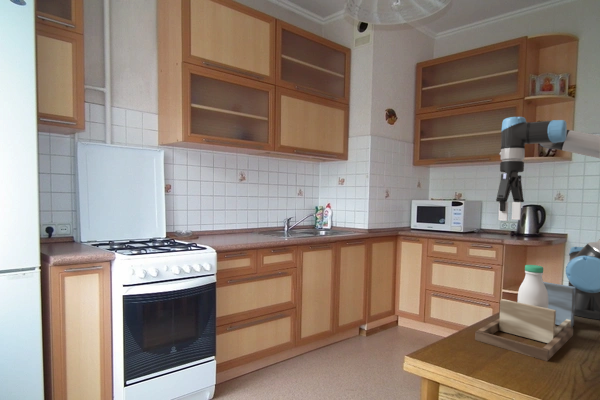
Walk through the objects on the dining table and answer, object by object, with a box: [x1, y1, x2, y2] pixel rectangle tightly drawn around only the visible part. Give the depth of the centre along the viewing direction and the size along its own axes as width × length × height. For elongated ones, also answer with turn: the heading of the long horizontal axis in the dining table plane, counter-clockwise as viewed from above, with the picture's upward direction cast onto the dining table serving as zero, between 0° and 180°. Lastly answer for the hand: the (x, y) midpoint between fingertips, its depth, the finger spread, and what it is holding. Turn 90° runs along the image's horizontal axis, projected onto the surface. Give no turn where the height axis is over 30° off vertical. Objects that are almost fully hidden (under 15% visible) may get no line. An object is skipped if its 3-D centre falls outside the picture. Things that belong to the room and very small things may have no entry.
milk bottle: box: [516, 264, 548, 308], centre depth 111 cm, size 8×8×20 cm
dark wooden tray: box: [474, 317, 574, 362], centre depth 108 cm, size 27×17×2 cm, turn 133°
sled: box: [498, 279, 575, 344], centre depth 116 cm, size 24×14×12 cm, turn 133°
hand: (509, 220), depth 137 cm, fingers open, 13 cm apart
